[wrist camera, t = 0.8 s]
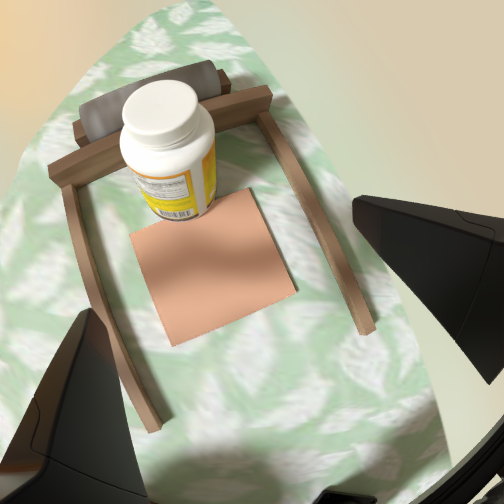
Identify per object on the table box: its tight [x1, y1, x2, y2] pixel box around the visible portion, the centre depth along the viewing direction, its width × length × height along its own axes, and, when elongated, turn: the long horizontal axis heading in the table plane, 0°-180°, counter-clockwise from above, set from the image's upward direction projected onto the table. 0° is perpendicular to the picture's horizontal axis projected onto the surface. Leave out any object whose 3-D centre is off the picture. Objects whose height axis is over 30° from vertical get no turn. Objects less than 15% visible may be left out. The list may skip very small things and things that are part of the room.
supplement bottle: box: [120, 80, 217, 222], centre depth 18 cm, size 6×6×10 cm
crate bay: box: [48, 60, 376, 433], centre depth 20 cm, size 25×19×5 cm
